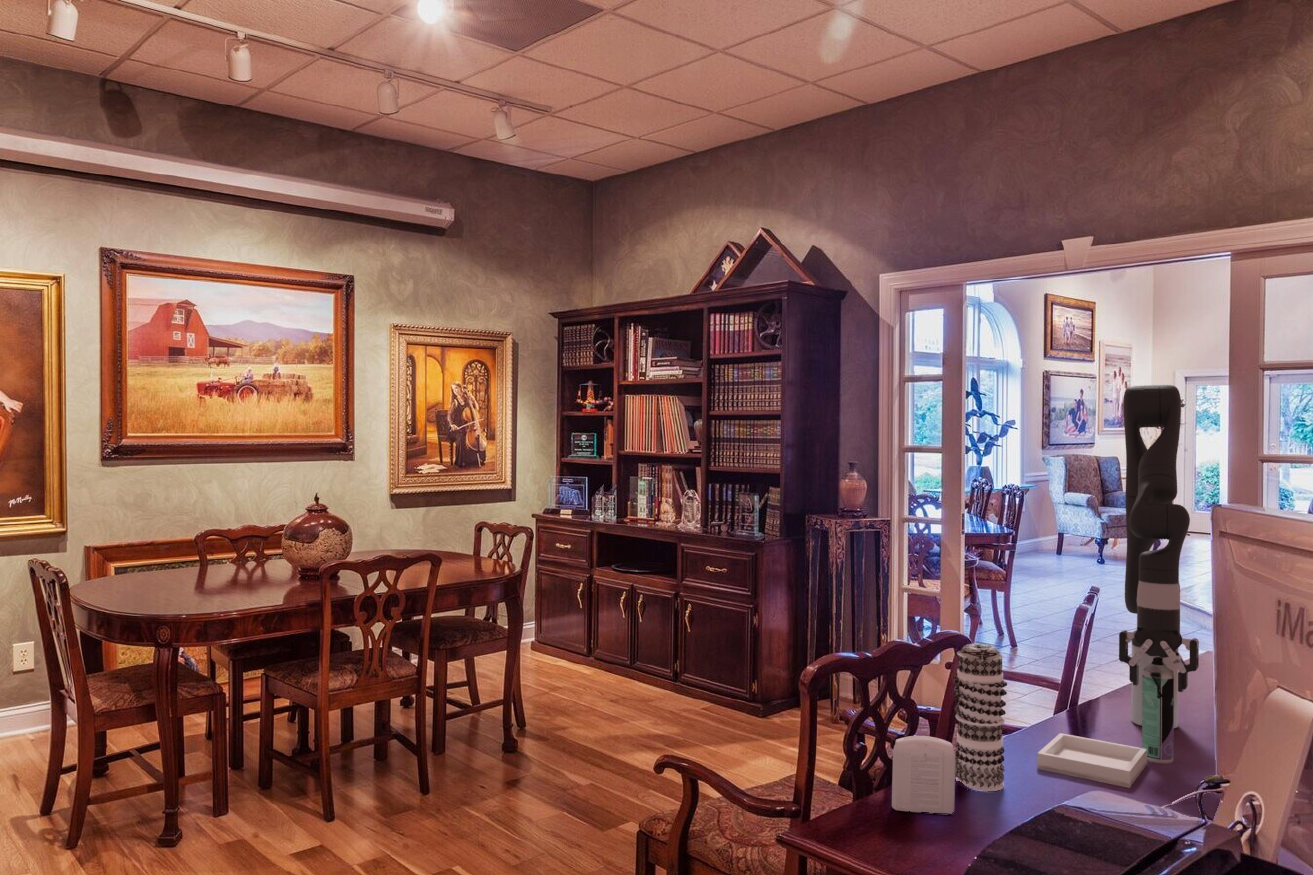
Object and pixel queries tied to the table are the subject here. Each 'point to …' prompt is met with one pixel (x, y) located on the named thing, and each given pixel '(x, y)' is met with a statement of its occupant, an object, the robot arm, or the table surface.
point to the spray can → (1158, 711)
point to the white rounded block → (923, 775)
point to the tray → (1093, 759)
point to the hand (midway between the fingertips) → (1157, 687)
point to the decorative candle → (980, 717)
